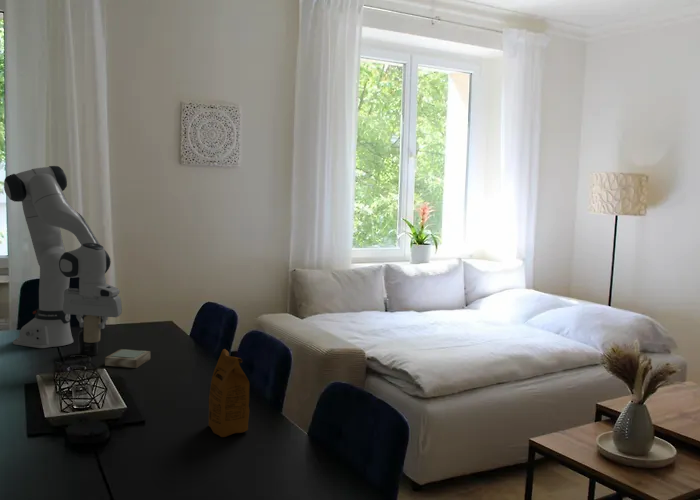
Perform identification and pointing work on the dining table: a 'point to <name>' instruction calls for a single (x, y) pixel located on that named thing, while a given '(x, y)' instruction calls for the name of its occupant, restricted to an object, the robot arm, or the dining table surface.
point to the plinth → (127, 358)
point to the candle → (91, 329)
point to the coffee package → (228, 397)
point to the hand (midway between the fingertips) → (92, 327)
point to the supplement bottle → (86, 345)
